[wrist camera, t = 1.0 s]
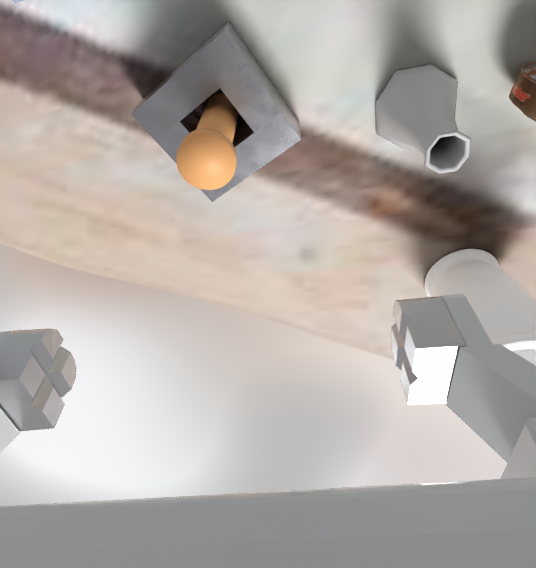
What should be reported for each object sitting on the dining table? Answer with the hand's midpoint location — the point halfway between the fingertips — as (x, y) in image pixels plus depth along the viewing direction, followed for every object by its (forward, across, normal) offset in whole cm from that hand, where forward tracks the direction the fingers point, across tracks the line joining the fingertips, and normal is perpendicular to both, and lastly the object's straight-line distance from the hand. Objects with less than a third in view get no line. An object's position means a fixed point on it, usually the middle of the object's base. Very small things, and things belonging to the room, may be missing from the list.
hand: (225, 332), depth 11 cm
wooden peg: (+33, +4, +4) cm, 33 cm away
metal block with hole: (+33, +4, +4) cm, 33 cm away
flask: (+33, -14, +6) cm, 36 cm away
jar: (+33, -21, +26) cm, 47 cm away
